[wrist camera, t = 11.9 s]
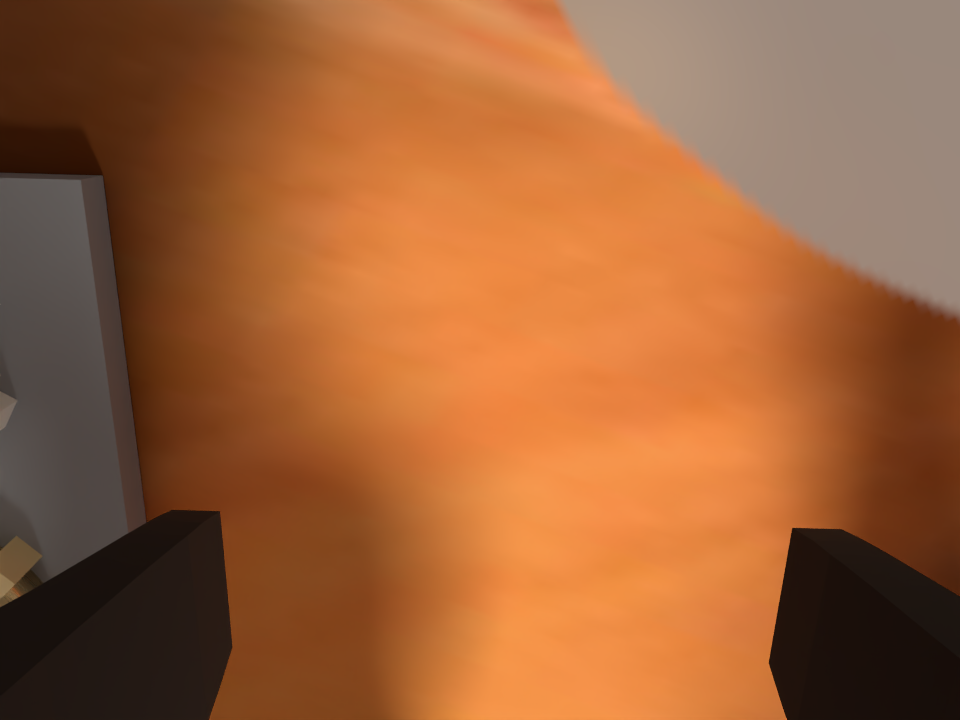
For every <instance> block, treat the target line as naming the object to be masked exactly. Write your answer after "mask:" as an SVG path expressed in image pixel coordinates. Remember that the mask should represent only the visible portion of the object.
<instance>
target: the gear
mask: <svg viewBox="0 0 960 720" xmlns="http://www.w3.org/2000/svg"><path fill="white" fill-rule="evenodd" d="M0 305H1V304H0ZM16 402H17V400H16V399H14V398H12V397H10V396H8V395H6V394H4V393H3V392H1V391H0V430H2V429H3V428H5V427H6V425H7V422H8V420H9V418H10V416H11V413H12V411H13V409H14V407H15V405H16Z"/></svg>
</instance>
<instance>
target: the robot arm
mask: <svg viewBox="0 0 960 720" xmlns="http://www.w3.org/2000/svg"><path fill="white" fill-rule="evenodd" d="M231 650H232V638H231V627H230V616H229V605H228V594H227V583H226V572H225V561H224V550H223V539H222V528H221V517H220V511H189V510H171V511H169V512H167V513H164V514H162V515H160V516H158V517H156V518H154V519H152V520H151V521H149V522H147V523H145V524H143V525H142V526H140V527H138V528H136V529H135V530H133V531H131V532H129V533H128V534H126V535H124V536H122V537H121V538H119V539H117V540H116V541H114V542H112V543H111V544H109V545H107V546H106V547H104V548H102V549H101V550H99V551H97V552H96V553H94V554H92V555H90V556H89V557H87V558H85V559H84V560H82V561H80V562H79V563H77V564H75V565H73V566H72V567H70V568H68V569H67V570H65V571H63V572H62V573H60V574H58V575H56V576H55V577H53V578H51V579H50V580H48V581H46V582H45V583H43V584H41V585H39V586H38V587H36V588H34V589H33V590H31V591H29V592H27V593H25V594H24V595H22V596H20V597H18V598H16V599H14V600H13V601H11V602H9V603H7V604H5V605H3V606H1V607H0V720H209V717H210V714H211V711H212V708H213V705H214V702H215V699H216V696H217V694H218V691H219V688H220V685H221V681H222V678H223V675H224V672H225V669H226V666H227V662H228V659H229V656H230V653H231ZM769 665H770V668H771V671H772V675H773V678H774V681H775V684H776V687H777V691H778V694H779V697H780V700H781V703H782V706H783V709H784V712H785V715H786V718H787V720H960V597H959V596H958V595H956V594H954V593H953V592H951V591H949V590H948V589H946V588H944V587H943V586H941V585H939V584H938V583H936V582H934V581H933V580H931V579H929V578H928V577H926V576H924V575H923V574H921V573H919V572H918V571H916V570H914V569H913V568H911V567H909V566H908V565H906V564H904V563H903V562H901V561H899V560H898V559H896V558H894V557H892V556H891V555H889V554H887V553H886V552H884V551H882V550H880V549H879V548H877V547H875V546H873V545H871V544H870V543H868V542H866V541H864V540H862V539H860V538H858V537H856V536H854V535H852V534H850V533H848V532H846V531H844V530H841V529H810V528H792V533H791V539H790V545H789V550H788V556H787V562H786V567H785V573H784V579H783V585H782V590H781V596H780V602H779V607H778V613H777V619H776V624H775V630H774V636H773V642H772V647H771V653H770V659H769Z"/></svg>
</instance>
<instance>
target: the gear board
mask: <svg viewBox="0 0 960 720" xmlns="http://www.w3.org/2000/svg"><path fill="white" fill-rule="evenodd" d="M0 304H1V305H0V391H1V392H3V393H4V394H6V395H8V396H10V397H12V398H14V399H16V400H17V402H16V405H15V407H14V409H13V411H12V413H11V416H10V418H9V420H8V422H7V425H6V427H5V428H3V429H2V430H0V607H1V606H3V605H5V604H7V603H9V602H11V601H13V600H14V599H16V598H18V597H20V596H22V595H24V594H25V593H27V592H29V591H31V590H33V589H34V588H36V587H38V586H39V585H41V584H43V583H45V582H46V581H48V580H50V579H51V578H53V577H55V576H56V575H58V574H60V573H62V572H63V571H65V570H67V569H68V568H70V567H72V566H73V565H75V564H77V563H79V562H80V561H82V560H84V559H85V558H87V557H89V556H90V555H92V554H94V553H96V552H97V551H99V550H101V549H102V548H104V547H106V546H107V545H109V544H111V543H112V542H114V541H116V540H117V539H119V538H121V537H122V536H124V535H126V534H128V533H129V532H131V531H133V530H135V529H136V528H138V527H140V526H142V525H143V524H145V523H147V522H146V514H145V506H144V498H143V490H142V483H141V475H140V467H139V459H138V451H137V443H136V435H135V427H134V419H133V411H132V403H131V395H130V387H129V379H128V371H127V364H126V356H125V348H124V340H123V332H122V324H121V316H120V308H119V300H118V292H117V284H116V276H115V268H114V260H113V252H112V244H111V237H110V229H109V221H108V213H107V205H106V197H105V189H104V181H103V176H102V175H66V174H29V173H0Z"/></svg>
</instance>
